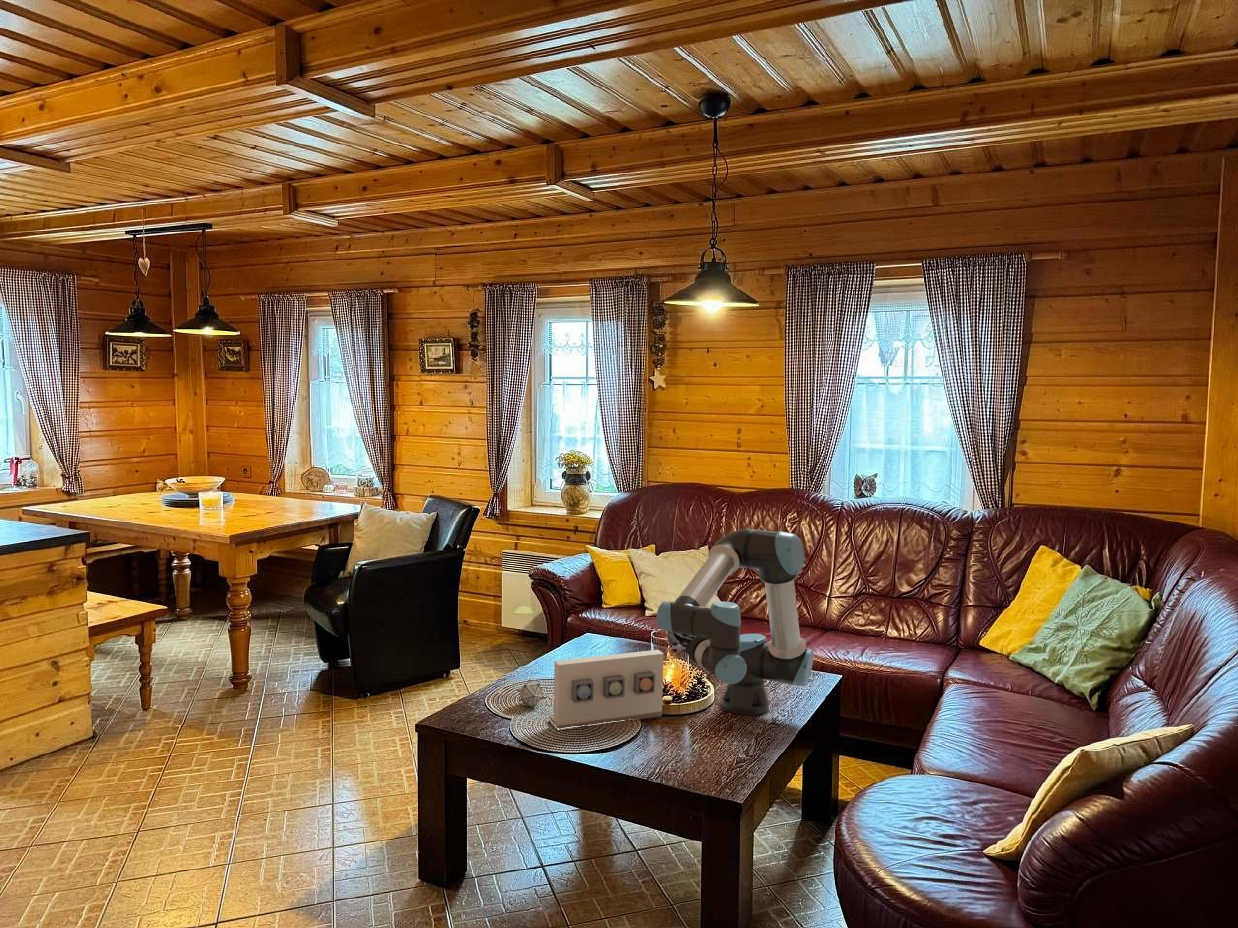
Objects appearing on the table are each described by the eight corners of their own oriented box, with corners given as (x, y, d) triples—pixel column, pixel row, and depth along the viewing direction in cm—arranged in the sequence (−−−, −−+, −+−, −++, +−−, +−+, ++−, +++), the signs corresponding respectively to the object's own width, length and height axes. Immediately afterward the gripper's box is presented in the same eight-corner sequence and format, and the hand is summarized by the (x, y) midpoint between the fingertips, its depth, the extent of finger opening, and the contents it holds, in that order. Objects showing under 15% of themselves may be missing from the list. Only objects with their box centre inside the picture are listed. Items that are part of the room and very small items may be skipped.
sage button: (607, 693, 251) (607, 680, 250) (619, 691, 252) (619, 679, 252) (609, 695, 249) (609, 682, 249) (621, 694, 250) (622, 681, 250)
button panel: (549, 720, 255) (550, 656, 253) (651, 706, 267) (652, 645, 266) (560, 734, 244) (561, 668, 243) (665, 719, 257) (667, 656, 255)
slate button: (575, 697, 247) (575, 684, 247) (588, 695, 249) (588, 682, 248) (577, 699, 245) (578, 686, 245) (590, 698, 247) (590, 685, 246)
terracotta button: (637, 689, 255) (637, 676, 254) (649, 688, 256) (649, 675, 256) (640, 691, 253) (640, 678, 252) (652, 690, 254) (652, 677, 254)
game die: (537, 717, 267) (555, 694, 264) (518, 714, 260) (536, 691, 258) (525, 696, 273) (543, 674, 270) (506, 693, 266) (525, 670, 264)
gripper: (683, 669, 219) (647, 643, 241) (727, 664, 224) (687, 638, 246) (684, 641, 219) (647, 617, 240) (728, 636, 224) (688, 614, 245)
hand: (668, 628), depth 243 cm, fingers closed
